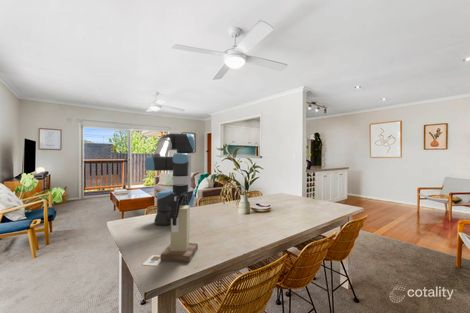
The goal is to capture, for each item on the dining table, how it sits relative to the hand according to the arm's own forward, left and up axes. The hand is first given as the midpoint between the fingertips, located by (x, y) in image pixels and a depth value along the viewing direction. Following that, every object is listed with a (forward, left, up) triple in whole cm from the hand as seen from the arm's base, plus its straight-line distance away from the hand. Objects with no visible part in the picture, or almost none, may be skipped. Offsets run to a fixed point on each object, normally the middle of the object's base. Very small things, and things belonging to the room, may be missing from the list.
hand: (180, 226), depth 106 cm
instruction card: (+7, -10, -14) cm, 19 cm away
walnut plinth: (0, 0, -14) cm, 14 cm away
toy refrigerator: (0, 0, -11) cm, 11 cm away
